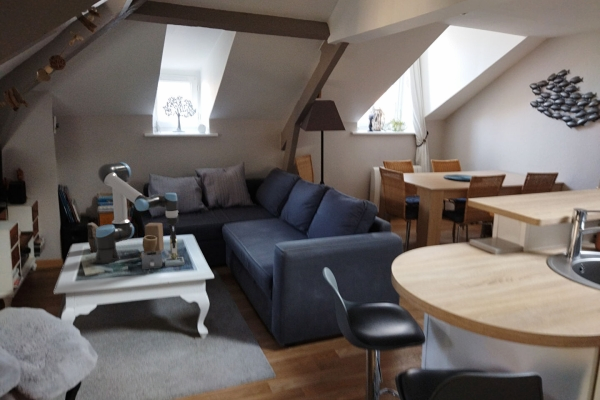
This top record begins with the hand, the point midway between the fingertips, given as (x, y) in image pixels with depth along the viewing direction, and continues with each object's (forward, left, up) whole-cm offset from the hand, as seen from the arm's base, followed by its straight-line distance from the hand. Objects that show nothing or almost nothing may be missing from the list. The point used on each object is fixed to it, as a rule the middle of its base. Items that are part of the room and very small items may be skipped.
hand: (173, 251), depth 299 cm
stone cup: (-15, +21, -8) cm, 27 cm away
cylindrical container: (0, 0, -5) cm, 5 cm away
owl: (-50, +52, -8) cm, 73 cm away
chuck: (-14, -3, -8) cm, 16 cm away
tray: (0, 0, -8) cm, 8 cm away
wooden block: (-11, +35, -8) cm, 38 cm away
